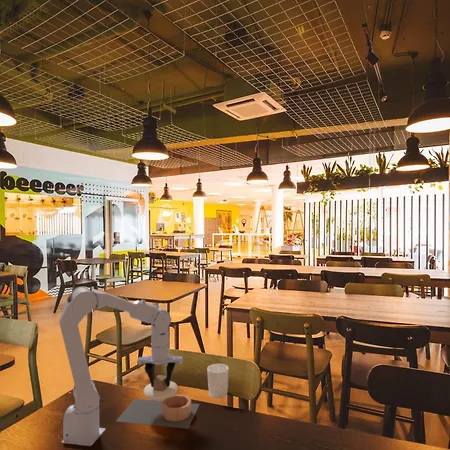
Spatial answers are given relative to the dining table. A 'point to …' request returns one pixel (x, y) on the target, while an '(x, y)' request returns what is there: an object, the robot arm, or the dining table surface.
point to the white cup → (217, 380)
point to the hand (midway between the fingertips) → (160, 385)
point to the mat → (152, 414)
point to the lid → (160, 389)
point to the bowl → (176, 408)
